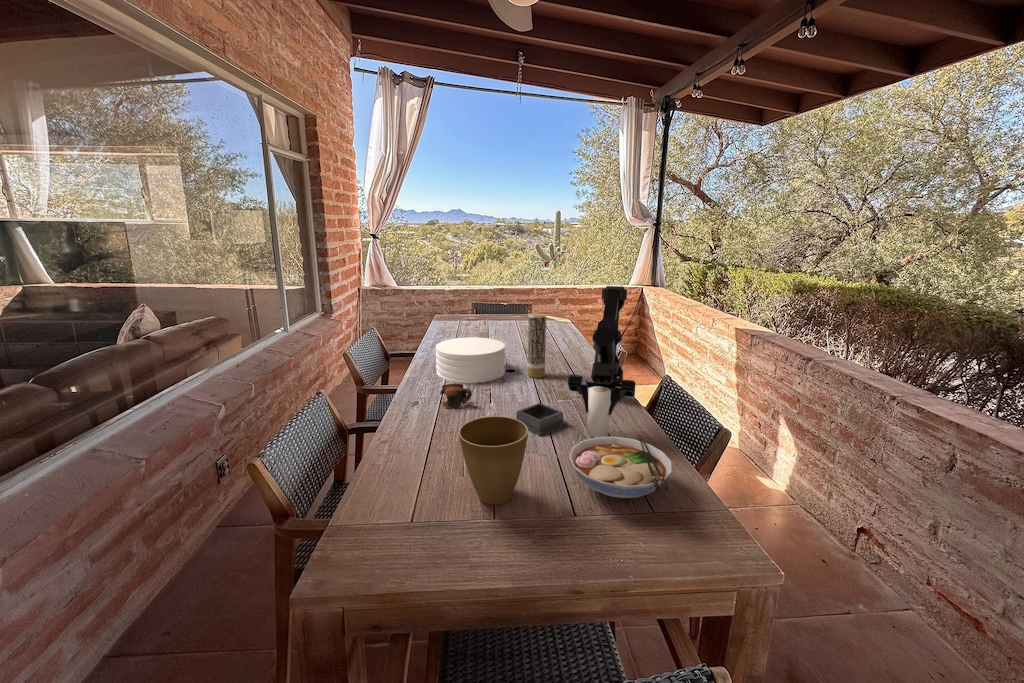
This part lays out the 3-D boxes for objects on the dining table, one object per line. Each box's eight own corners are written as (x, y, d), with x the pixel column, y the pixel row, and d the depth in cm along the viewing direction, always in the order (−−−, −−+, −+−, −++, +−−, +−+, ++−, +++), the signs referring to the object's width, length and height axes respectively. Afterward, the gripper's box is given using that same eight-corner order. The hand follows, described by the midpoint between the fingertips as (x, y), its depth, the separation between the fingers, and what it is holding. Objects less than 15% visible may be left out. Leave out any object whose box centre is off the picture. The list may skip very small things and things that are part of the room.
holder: (539, 412, 147) (539, 401, 146) (567, 424, 138) (568, 412, 137) (511, 423, 139) (511, 411, 138) (539, 436, 131) (540, 423, 130)
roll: (601, 427, 133) (604, 384, 130) (612, 436, 128) (615, 392, 124) (583, 430, 131) (585, 387, 128) (593, 439, 126) (595, 394, 122)
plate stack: (428, 367, 195) (427, 341, 192) (489, 359, 206) (489, 334, 204) (448, 387, 170) (447, 358, 167) (516, 377, 182) (516, 350, 179)
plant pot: (491, 471, 112) (490, 410, 108) (540, 492, 103) (541, 427, 99) (446, 498, 101) (444, 431, 97) (497, 525, 92) (496, 453, 88)
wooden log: (543, 379, 179) (544, 316, 173) (526, 378, 181) (527, 316, 175) (545, 373, 186) (547, 313, 180) (529, 372, 187) (530, 312, 181)
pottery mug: (434, 409, 151) (434, 385, 153) (449, 412, 159) (448, 389, 162) (466, 405, 147) (465, 380, 149) (480, 408, 155) (478, 384, 157)
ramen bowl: (567, 458, 119) (568, 429, 117) (658, 463, 116) (660, 433, 114) (568, 517, 94) (569, 482, 92) (682, 525, 92) (686, 489, 90)
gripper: (569, 347, 130) (561, 398, 122) (637, 352, 125) (633, 405, 117) (573, 366, 139) (565, 413, 132) (636, 371, 134) (632, 421, 127)
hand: (598, 413), depth 127 cm, fingers closed on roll, 6 cm apart
